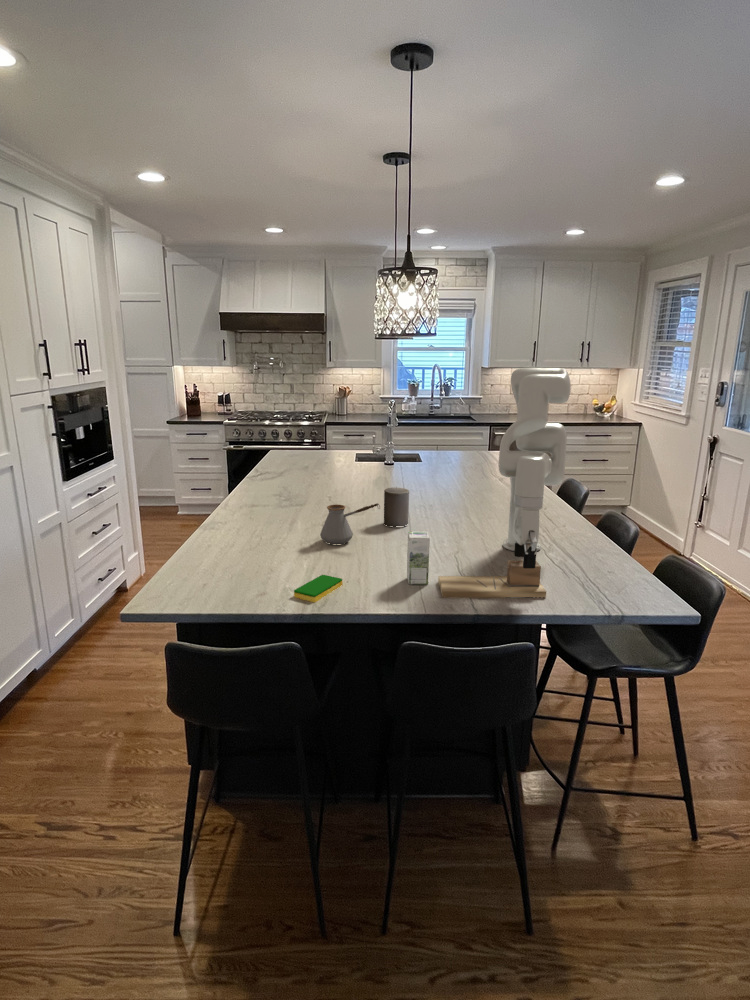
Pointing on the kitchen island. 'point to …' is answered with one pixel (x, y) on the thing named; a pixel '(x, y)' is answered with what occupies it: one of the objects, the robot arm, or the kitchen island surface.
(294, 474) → the kitchen island surface
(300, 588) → the dish sponge
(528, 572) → the block
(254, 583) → the kitchen island surface
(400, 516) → the pillar candle
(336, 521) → the coffee pot
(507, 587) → the board
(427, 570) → the syrup box
